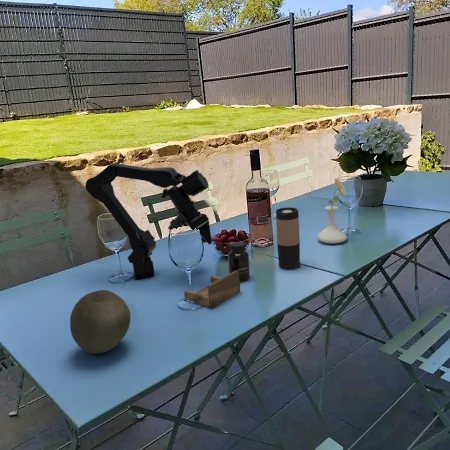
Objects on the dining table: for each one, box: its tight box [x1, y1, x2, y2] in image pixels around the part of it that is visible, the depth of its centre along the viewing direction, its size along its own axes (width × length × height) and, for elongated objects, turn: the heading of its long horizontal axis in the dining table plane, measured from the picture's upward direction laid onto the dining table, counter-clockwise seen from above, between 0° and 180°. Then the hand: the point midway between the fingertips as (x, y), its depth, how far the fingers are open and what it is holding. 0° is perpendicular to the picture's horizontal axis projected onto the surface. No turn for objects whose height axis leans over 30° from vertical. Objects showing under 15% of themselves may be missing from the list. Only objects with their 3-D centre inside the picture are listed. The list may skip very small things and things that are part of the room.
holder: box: [183, 270, 241, 310], centre depth 130 cm, size 11×13×7 cm
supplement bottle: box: [227, 241, 251, 283], centre depth 141 cm, size 7×7×12 cm
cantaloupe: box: [69, 289, 131, 355], centre depth 105 cm, size 14×14×15 cm
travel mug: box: [275, 207, 301, 271], centre depth 146 cm, size 8×8×20 cm
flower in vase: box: [316, 177, 348, 244], centre depth 167 cm, size 13×11×25 cm
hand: (207, 243), depth 142 cm, fingers open, 9 cm apart
